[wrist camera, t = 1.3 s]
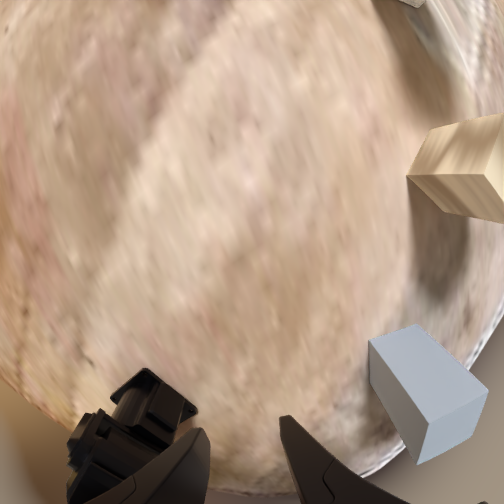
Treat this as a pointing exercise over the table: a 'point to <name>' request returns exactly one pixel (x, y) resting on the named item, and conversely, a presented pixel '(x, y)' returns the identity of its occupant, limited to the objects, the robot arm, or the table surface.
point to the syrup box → (414, 2)
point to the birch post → (464, 168)
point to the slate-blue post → (424, 391)
